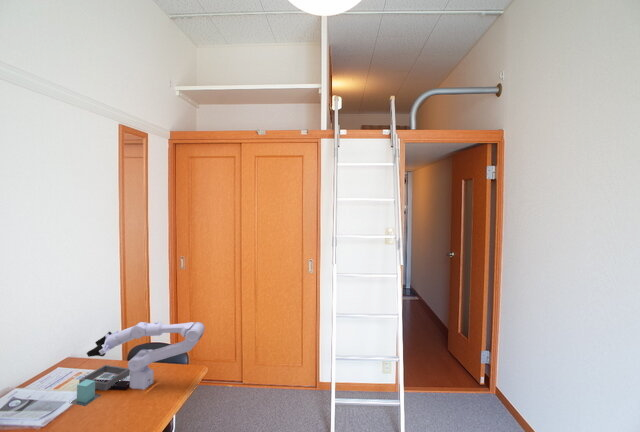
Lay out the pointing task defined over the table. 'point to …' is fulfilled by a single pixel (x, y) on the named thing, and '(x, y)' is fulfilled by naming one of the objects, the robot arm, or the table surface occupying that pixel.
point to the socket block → (85, 390)
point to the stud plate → (86, 402)
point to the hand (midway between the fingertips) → (92, 349)
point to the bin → (110, 369)
